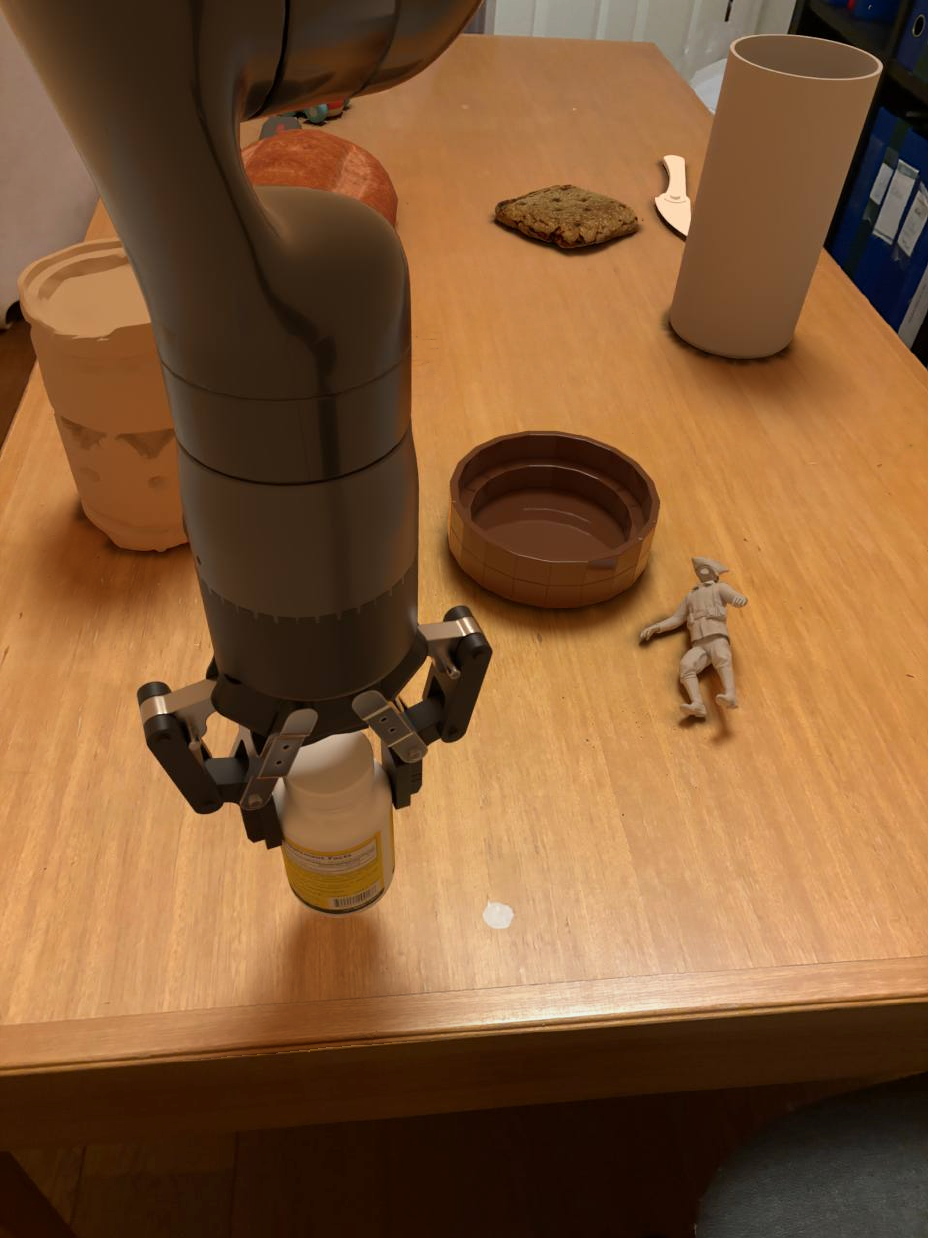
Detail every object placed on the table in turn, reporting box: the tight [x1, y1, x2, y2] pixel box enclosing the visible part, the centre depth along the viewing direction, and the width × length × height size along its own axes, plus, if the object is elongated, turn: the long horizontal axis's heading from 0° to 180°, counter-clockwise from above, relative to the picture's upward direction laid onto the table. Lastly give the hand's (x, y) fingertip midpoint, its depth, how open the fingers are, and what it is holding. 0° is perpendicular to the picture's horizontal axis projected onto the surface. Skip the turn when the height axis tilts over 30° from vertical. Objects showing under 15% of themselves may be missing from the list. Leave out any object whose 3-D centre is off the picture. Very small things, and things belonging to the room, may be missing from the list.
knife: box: [654, 154, 692, 237], centre depth 118 cm, size 26×4×1 cm, turn 171°
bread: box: [241, 128, 399, 227], centre depth 104 cm, size 23×32×9 cm
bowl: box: [447, 430, 661, 609], centre depth 69 cm, size 15×15×5 cm
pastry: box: [494, 183, 639, 249], centre depth 111 cm, size 17×17×3 cm
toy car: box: [280, 99, 351, 124], centre depth 130 cm, size 9×9×10 cm
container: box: [16, 236, 189, 553], centre depth 66 cm, size 13×13×18 cm
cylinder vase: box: [669, 33, 884, 360], centre depth 86 cm, size 12×12×25 cm
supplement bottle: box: [272, 730, 396, 919], centre depth 43 cm, size 5×5×10 cm
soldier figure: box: [639, 556, 749, 718], centre depth 63 cm, size 8×5×12 cm
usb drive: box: [258, 115, 303, 140], centre depth 122 cm, size 5×12×3 cm, turn 3°
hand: (334, 811), depth 43 cm, fingers closed on supplement bottle, 5 cm apart
